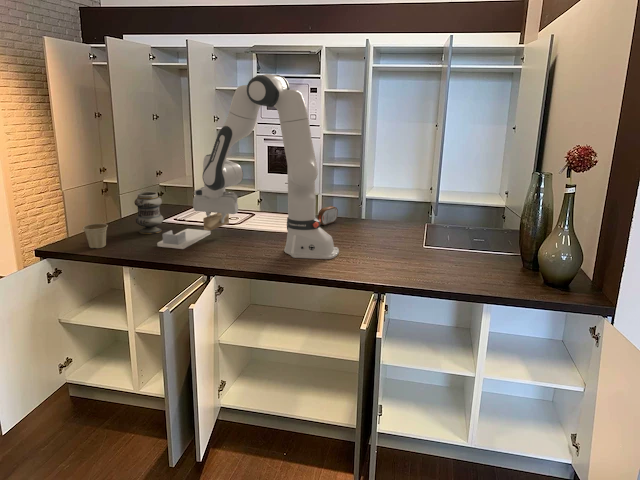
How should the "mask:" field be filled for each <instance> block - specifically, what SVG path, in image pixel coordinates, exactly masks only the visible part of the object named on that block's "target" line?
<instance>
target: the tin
mask: <svg viewBox="0 0 640 480" xmlns="http://www.w3.org/2000/svg"><path fill="white" fill-rule="evenodd" d="M338 214H339V210H338V208H337V207H336V206H333V205H329V206H326V207H322V208H321V209H320V210H319V212H318V214H317V217H316V218H317V219H318V220H320V219H321V222H320V225H322V226H326V225H329V224H333V223H334V222H336V221H337V219H338V216H339V215H338Z"/></svg>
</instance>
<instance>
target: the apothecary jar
mask: <svg viewBox="0 0 640 480" xmlns="http://www.w3.org/2000/svg"><path fill="white" fill-rule="evenodd" d="M162 202H163V200H162V198H161V197H159V195H158V192H157V191H141V192H139V193H137V198H135V199H134V205H135V206H136V207H137V216H136V218H135V223H136V224H137V225H139V226H141V227H142V228H141V229H140V230H139V231H138V232H139V233H140V234H143V235H153V234H159V233H161V232H162V231H163V230H162V228H159V227H157V226H159V225H161V224H162V223H163V222H164V216H163V215H162V214H161V211H160V209H161V208H160V206H161V205H162Z"/></svg>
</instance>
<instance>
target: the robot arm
mask: <svg viewBox="0 0 640 480" xmlns="http://www.w3.org/2000/svg"><path fill="white" fill-rule="evenodd" d="M261 106H262V107H267V108H273V107H274V108H275V109H276V110H277V113H278V118H279V124H280V131H281V137H282V143H283V147H284V152H285V158H286V165H287V203H288V205H287V207H288V208H287V211H288V212H287V217H286V218H287V219H286V231H287V235H286V243H285V246H284V249H283V251H284V252H285V254H288V255H290V257H291V258H294V259H295V258H296V259H317V260H320V259H321V260H331V259H334V258H336V257H337V256H338V255H339V253H340V250H339V249H340V248H339V247H338V246H335V245H334V244H335V243H334V240H333V237H332V235H330V234H329V233H328V232H326V230H324V229H323V227H321V224H320V222H321V219H320V220H318V219H317V217H316V204H317V200H316V199H317V198H316V180H317V178H318V174H319V173H318V172H319V171H318V165H317V159H316V155H315V150H314V144H313V139H312V133H311V126H310V119H309V114H308V108H307V106H306V102H305V99H304V96H303V93H302V92H300V91H299V90H297V89H291V87H290V84H289V82H288V80H287V79H286V78H285V76H282V75H280V74H271V73H266V74H261V75H260V74H258V75H255V76H254V77H252V78H251V79H250V80H249V81H248V83H247V84H242V85H239V86H238V87H237V88H236V89H235V92H234V93H233V96H232V99H231V103H230V106H229V111H228V113H227V116H226V119H225V122H224V124H223V126H222V127H221V128H220V130H219V132H218V134H217V136H216V139H215V142H214V145H213V148H212V150H211V153H210V154H206V155H205V156H204V158H203V161H202V165H203V166H202V168H203V169H202V181H203V187H200V188H197V189H195V190H194V191H193V195H194V196H193V199H192V209H193V210H194V211H195V212H199V213H200V212H201V213H203V212H204V213H205V215H206V217H208V216H211V215H212V214H211V213H214V214H216V213H221V215H222V218H221V219H219V221H220V223H224V218H225V216H226V214H229V215H236V214H237V213H238V212H239V204H238V195H237V194H236V193H235V192H233V191H232V192H231V191H226V188H228V187H232V186H236V185H238V184H240V183H242V182H243V179H244V171H243V170H244V169H243V168H242V166H241V165H240V164H239V163H237V162H234V161H231V160H229V159H227V157H228V156H229V155H228V154H229V152H230V150H231V148H232V147H233V145H235V144H236V143H238V142H239V141H240V140H242V139H244V138H246V137H248V136H249V135H250V134H252V133H253V131H254V129H255V127H256V122H257V119H258V114H259V110H260V108H261Z"/></svg>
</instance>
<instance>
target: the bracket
mask: <svg viewBox="0 0 640 480" xmlns="http://www.w3.org/2000/svg"><path fill="white" fill-rule="evenodd" d="M211 232H212V230H204V229H195V228H186V229H183V230H181V231H179V232H177V233H175V234H174V233H173V230H172V229H170V230H168V231H165V232H163V233H162V240H160V241H158V242H157V243H156V244H157V245H156V246H157V247H160V248H161V247H162V248H172V249H180V250H185V249H186V248H189V247H190V246H192V245H194V244H195V243H197V242H199V241H200V240H202V239H204V238H206V237H208V236H209V235H211V234H212V233H211Z"/></svg>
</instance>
